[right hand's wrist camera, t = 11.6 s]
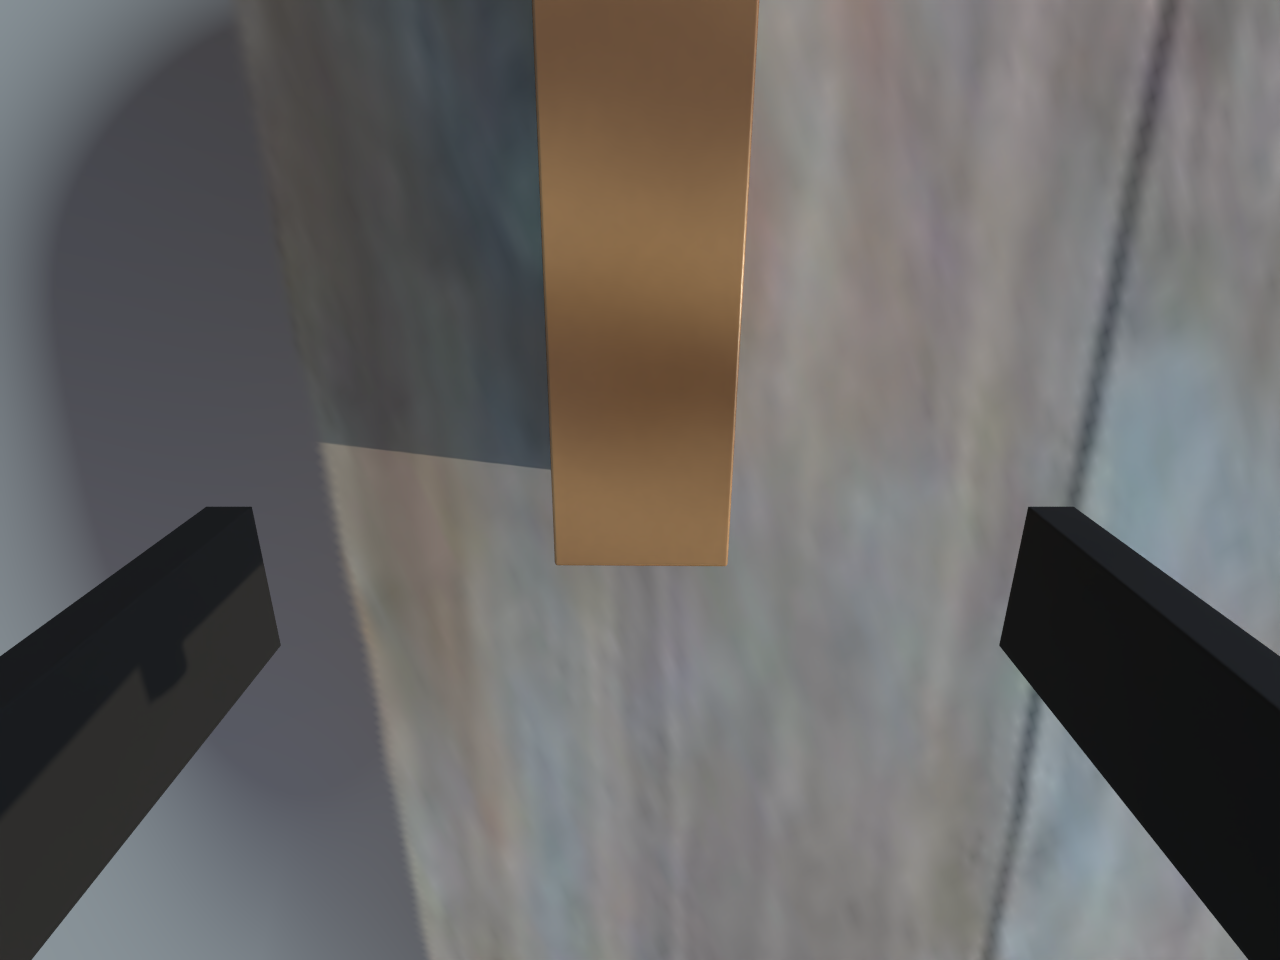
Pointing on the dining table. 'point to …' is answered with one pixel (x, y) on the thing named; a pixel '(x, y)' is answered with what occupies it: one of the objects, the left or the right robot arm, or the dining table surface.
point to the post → (643, 269)
